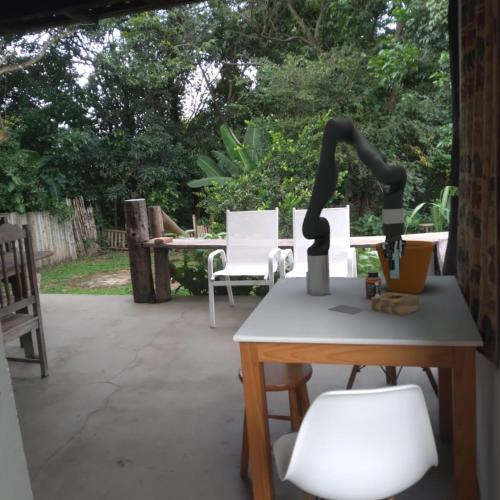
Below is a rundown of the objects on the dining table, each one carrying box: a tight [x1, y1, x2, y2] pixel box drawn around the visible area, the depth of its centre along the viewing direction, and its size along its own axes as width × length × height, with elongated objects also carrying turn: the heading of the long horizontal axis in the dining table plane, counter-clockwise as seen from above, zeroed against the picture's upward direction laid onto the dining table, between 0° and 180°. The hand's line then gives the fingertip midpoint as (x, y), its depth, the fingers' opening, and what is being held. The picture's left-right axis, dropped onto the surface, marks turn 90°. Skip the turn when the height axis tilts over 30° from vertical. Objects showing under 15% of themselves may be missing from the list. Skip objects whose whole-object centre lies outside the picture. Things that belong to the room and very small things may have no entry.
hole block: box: [370, 291, 420, 317], centre depth 176 cm, size 12×12×5 cm
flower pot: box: [375, 239, 435, 294], centre depth 208 cm, size 24×24×20 cm
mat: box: [327, 304, 368, 315], centre depth 181 cm, size 12×9×1 cm
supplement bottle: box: [365, 270, 382, 301], centre depth 195 cm, size 6×6×11 cm
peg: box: [390, 250, 399, 278], centre depth 175 cm, size 3×3×10 cm
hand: (394, 269), depth 175 cm, fingers closed on peg, 3 cm apart
